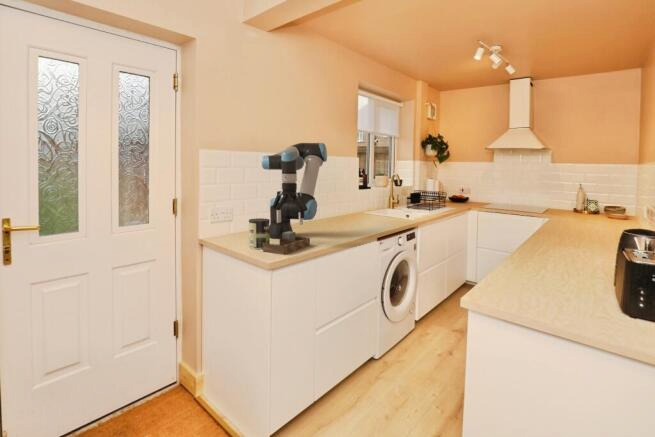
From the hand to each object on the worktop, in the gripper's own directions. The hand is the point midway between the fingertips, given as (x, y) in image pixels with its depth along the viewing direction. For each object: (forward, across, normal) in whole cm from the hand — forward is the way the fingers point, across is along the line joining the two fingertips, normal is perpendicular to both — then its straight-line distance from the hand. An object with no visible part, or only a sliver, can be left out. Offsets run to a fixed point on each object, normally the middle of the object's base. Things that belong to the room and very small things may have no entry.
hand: (289, 223), depth 189 cm
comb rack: (+11, +3, -7) cm, 14 cm away
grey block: (+12, 0, -1) cm, 12 cm away
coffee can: (+11, -10, -12) cm, 20 cm away
